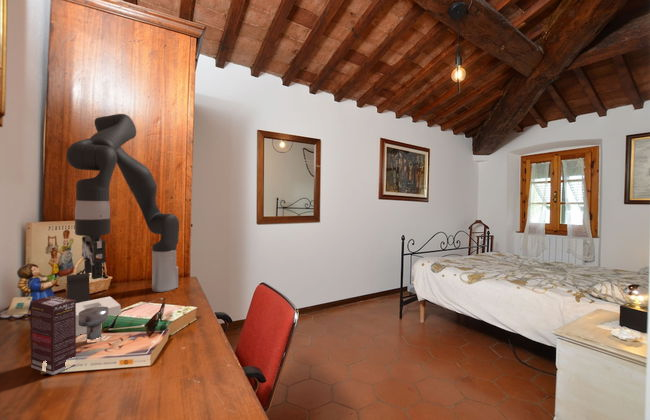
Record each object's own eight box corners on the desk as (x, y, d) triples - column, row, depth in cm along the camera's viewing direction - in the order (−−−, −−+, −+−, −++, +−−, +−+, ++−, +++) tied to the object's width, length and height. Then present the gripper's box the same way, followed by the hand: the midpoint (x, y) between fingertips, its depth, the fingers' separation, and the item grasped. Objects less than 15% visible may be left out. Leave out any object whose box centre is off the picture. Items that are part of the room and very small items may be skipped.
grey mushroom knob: (105, 333, 83) (105, 304, 83) (111, 340, 79) (111, 310, 79) (76, 341, 78) (76, 311, 78) (81, 349, 74) (81, 317, 74)
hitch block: (110, 313, 97) (110, 296, 97) (120, 323, 89) (120, 305, 89) (63, 324, 88) (62, 305, 87) (70, 337, 80) (70, 316, 80)
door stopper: (90, 308, 101) (90, 275, 100) (67, 313, 96) (67, 278, 96) (87, 301, 107) (87, 270, 107) (66, 305, 103) (66, 273, 102)
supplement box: (77, 364, 67) (77, 299, 67) (52, 376, 63) (51, 306, 62) (55, 357, 70) (54, 294, 70) (29, 367, 66) (28, 301, 65)
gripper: (117, 218, 76) (117, 277, 76) (103, 215, 85) (103, 268, 85) (80, 219, 70) (80, 283, 70) (70, 216, 79) (70, 273, 80)
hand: (93, 275), depth 78 cm, fingers open, 8 cm apart
